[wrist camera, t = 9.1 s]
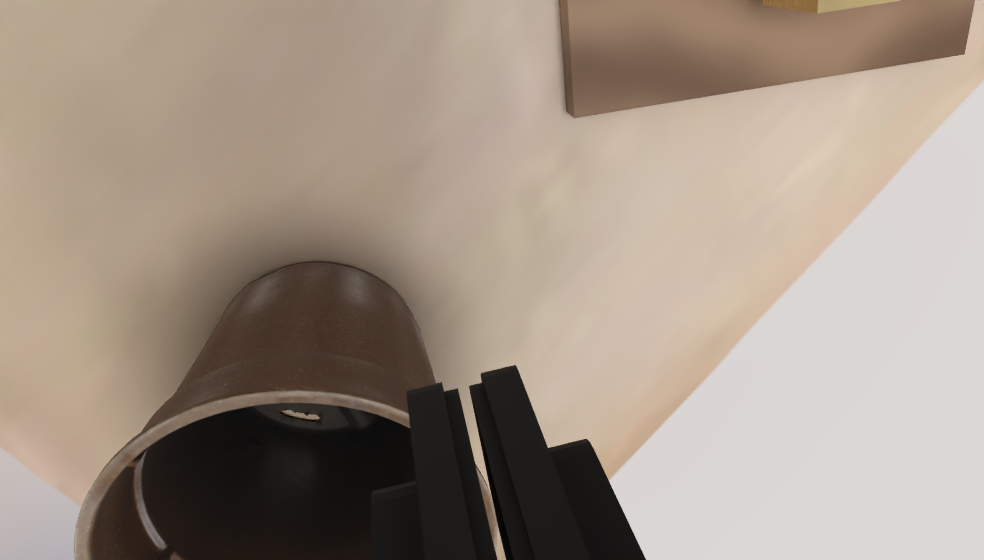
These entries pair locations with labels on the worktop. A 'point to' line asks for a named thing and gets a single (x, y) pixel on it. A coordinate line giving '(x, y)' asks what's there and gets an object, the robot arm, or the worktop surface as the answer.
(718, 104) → the worktop surface
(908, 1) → the wooden slider board
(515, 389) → the robot arm
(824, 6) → the sliding block
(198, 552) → the plant pot
